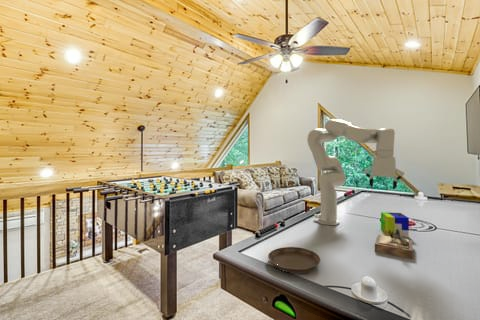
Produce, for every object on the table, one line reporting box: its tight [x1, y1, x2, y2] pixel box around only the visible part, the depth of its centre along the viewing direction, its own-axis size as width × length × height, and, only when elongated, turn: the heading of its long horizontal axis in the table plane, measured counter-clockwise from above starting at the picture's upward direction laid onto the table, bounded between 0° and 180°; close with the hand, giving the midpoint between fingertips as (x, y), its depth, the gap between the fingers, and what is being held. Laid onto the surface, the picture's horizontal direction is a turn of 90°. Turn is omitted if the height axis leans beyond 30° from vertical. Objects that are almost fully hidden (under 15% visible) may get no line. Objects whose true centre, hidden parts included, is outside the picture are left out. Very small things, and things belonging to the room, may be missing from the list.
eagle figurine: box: [385, 229, 409, 247], centre depth 111 cm, size 8×7×9 cm
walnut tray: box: [374, 234, 414, 260], centre depth 113 cm, size 14×14×4 cm
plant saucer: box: [267, 246, 321, 275], centre depth 100 cm, size 21×21×3 cm
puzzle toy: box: [380, 211, 410, 238], centre depth 135 cm, size 10×10×10 cm
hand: (382, 187), depth 123 cm, fingers open, 9 cm apart
